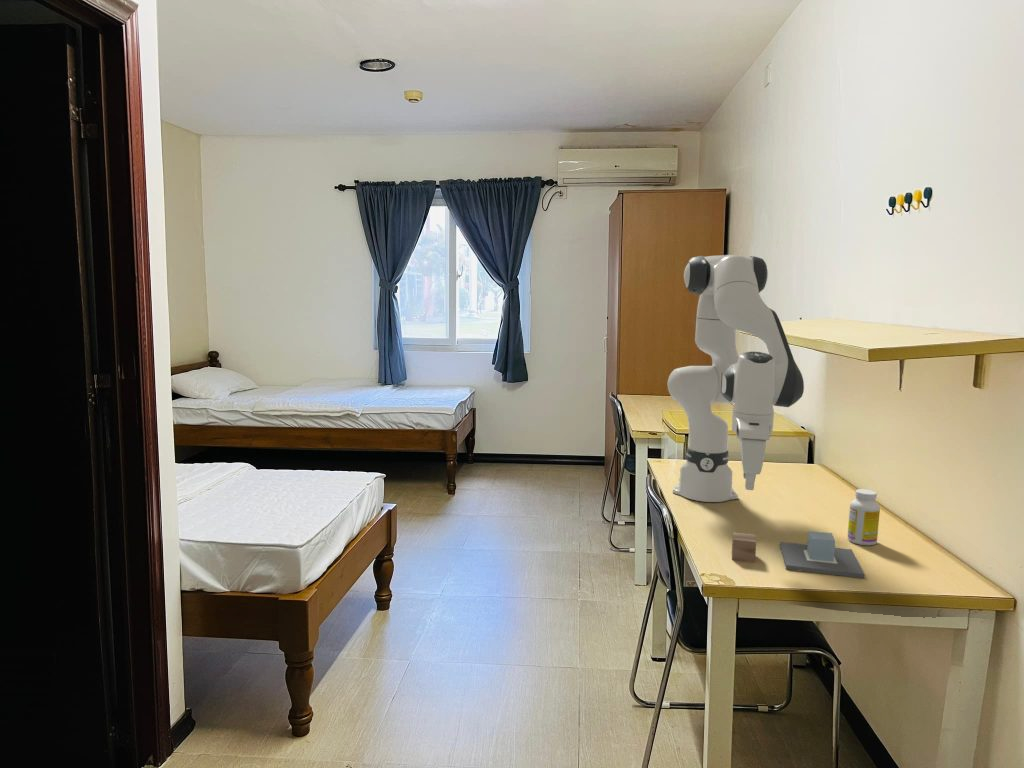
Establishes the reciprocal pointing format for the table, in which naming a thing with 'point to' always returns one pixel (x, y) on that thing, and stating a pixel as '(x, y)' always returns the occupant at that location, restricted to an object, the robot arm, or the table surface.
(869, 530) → the supplement bottle
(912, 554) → the table surface
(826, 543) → the blue block
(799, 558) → the dark grey flat slab
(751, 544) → the walnut block
